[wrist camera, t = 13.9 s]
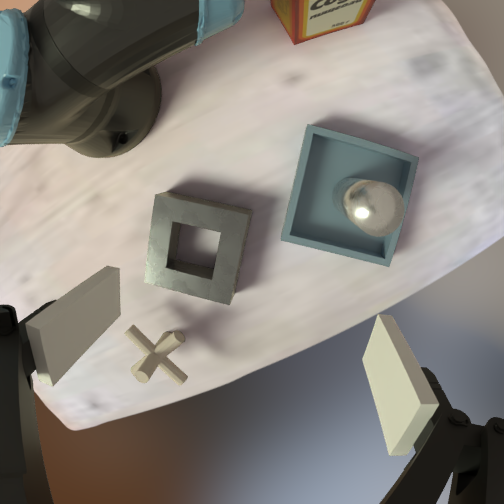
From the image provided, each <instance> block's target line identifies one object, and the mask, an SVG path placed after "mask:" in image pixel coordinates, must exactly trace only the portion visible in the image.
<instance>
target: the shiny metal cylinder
mask: <svg viewBox="0 0 504 504" xmlns="http://www.w3.org/2000/svg"><path fill="white" fill-rule="evenodd" d="M332 201H333V204H334V206H335V208H336V209H337V210H338V211H339V212H340V213H342V214H343V215H344V216H345V217H347V218H348V219H349V220H350V221H352V222H353V223H354V224H355V225H357V226H358V227H359V228H360V229H362V230H363V231H364V232H365V233H367V234H369V235H372V236H376V237H381V236H386V235H389V234H391V233H392V232H394V231H395V230H396V229H397V228H398V227H399V225H400V224H401V222H402V220H403V217H404V211H405V208H404V201H403V198H402V196H401V194H400V193H399V192H398V190H397V189H396V188H395V187H393V186H392V185H390V184H387V183H384V182H378V181H371V180H365V179H358V178H344V179H342V180H340V181H339V182H338V183H337V184H336V185H335V187H334V189H333V192H332Z"/></svg>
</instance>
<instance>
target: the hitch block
mask: <svg viewBox="0 0 504 504" xmlns="http://www.w3.org/2000/svg"><path fill="white" fill-rule="evenodd" d="M251 215H252V210H249V209H244V208H240V207H236V206H231V205H227V204H222V203H217V202H213V201H208V200H204V199H199V198H194V197H189V196H185V195H180V194H175V193H170V192H163V193H160V194H156V195H155V200H154V207H153V214H152V221H151V229H150V236H149V245H148V253H147V263H146V273H145V282H146V283H149V284H153V285H156V286H160V287H163V288H167V289H170V290H174V291H178V292H181V293H185V294H189V295H192V296H196V297H200V298H204V299H207V300H211V301H215V302H219V303H223V304H227V305H230V303H231V301H232V299H233V296H234V294H235V289H236V285H237V280H238V275H239V270H240V266H241V261H242V256H243V252H244V247H245V242H246V238H247V233H248V228H249V224H250V219H251ZM181 223H183V224H187V225H191V226H196V227H200V228H204V229H209V230H213V231H217V232H221V235H220V241H219V246H218V251H217V256H216V262H215V267H214V269H210V268H206V267H202V266H198V265H195V264H191V263H187V262H183V261H179V260H176V253H177V246H178V239H179V232H180V226H181Z"/></svg>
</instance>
